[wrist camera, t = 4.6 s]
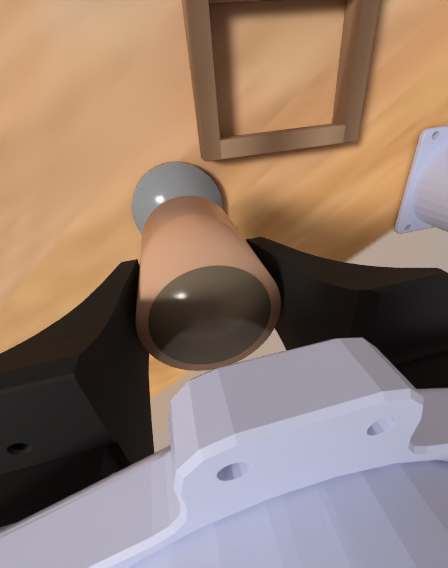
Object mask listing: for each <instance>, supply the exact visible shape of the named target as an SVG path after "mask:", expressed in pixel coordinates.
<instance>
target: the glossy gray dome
mask: <svg viewBox="0 0 448 568" xmlns="http://www.w3.org/2000/svg"><path fill="white" fill-rule="evenodd" d="M179 196H199V197H202V198H206V199H208V200H210V201H212V202H214V203H216V204H217V205H218V206H219V207H221V208H222V209H223V205H222V198H221V195H220V192H219V190H218V187H217V186H216V184H215V183H214V181H213V180H212V179H211V178H210V177H209V176H208V175H207V174H206V173H205V172H204V171H203V170H201V169H200V168H198V167H196V166H194V165H192V164H189V163H184V162H167V163H163V164H160V165H158V166H156V167H154V168H152V169H151V170H149V171H148V172H147V173H146V174H145V175H144V176H143V177H142V178H141V180H140V181H139V183H138V185H137V186H136V189H135V192H134V196H133V202H132V211H133V217H134V220H135V223H136V225H137V227H138V229H139V231H140V232H141V234H142V232H143V228H144V225H145V223H146V221H147V219H148V217H149V216H150V214H151V213H152V212H153V211H154V210H155V209H156V208H157V207H158V206H159V205H161V204H162V203H164V202H166V201H167V200H170V199H172V198H176V197H179Z"/></svg>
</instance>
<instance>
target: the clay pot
mask: <svg viewBox="0 0 448 568" xmlns="http://www.w3.org/2000/svg"><path fill="white" fill-rule="evenodd" d="M280 308H281V299H280V293H279V290H278V287H277V285H276V283H275V281H274V279H273V278H272V276H271V275H270V274H269V272H268V271H267V269H266V268H265V267H264V265H263V264H262V263H261V261H260V260H259V258H258V257H257V256H256V254H255V253H254V251H253V250H252V249H251V247H250V246H249V245H248V243H247V242H246V240H245V239H244V238H243V236H242V235H241V233H240V232H239V231H238V229H237V228H236V227H235V225H234V224H233V222H232V221H231V220H230V218H229V217H228V215H227V214H226V213H225V211H224V210H223V209H222V208H221V207H219V206H218V205H217V204H216V203H214V202H212V201H210V200H208V199H206V198H202V197H199V196H179V197H176V198H172V199H170V200H167V201H166V202H164V203H162V204H161V205H159V206H158V207H157V208H156V209H155V210H154V211H153V212H152V213H151V214H150V216H149V217H148V219H147V221H146V223H145V225H144V228H143V232H142V240H141V253H140V266H139V280H138V293H137V306H136V330H137V334H138V337H139V339H140V341H141V343H142V345H143V346H144V347H145V349H146V350H147V351H148V352H149V353H150V354H151V355H152V356H153V357H155V358H156V359H157V360H159V361H161V362H163V363H164V364H167V365H169V366H172V367H175V368H179V369H184V370H195V371H199V370H211V369H215V368H218V367H222V366H227V365H230V364H233V363H235V362H238V361H239V360H241V359H243V358H245V357H247V356H248V355H250V354H251V353H252V352H254V351H255V350H256V349H258V348H259V347H260V346H261V345H262V344H263V343H264V342H265V341H266V340H267V338H268V337H269V336H270V334H271V333H272V331H273V330H274V328H275V326H276V324H277V321H278V318H279V314H280Z"/></svg>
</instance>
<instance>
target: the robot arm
mask: <svg viewBox="0 0 448 568" xmlns="http://www.w3.org/2000/svg"><path fill="white" fill-rule="evenodd" d="M433 134H434V136H433ZM432 136H433V137H432ZM432 227H437V228H440V229H442V230H445V231H447V232H448V126H441V127H433V128H427V129H425V130H424V131H423V132H422V133H421V135H420V137H419V141H418V144H417V148H416V152H415V155H414V159H413V163H412V166H411V170H410V173H409V177H408V181H407V184H406V188H405V192H404V195H403V199H402V203H401V206H400V210H399V214H398V217H397V221H396V225H395V229H394V230H395V232H397V233H399V234H402V233H406V232H412V231H417V230H422V229H427V228H432ZM246 242H247V243H248V245H249V246H250V247H251V249H252V250H253V251H254V253H255V254H256V256H257V257H258V258H259V260H260V261H261V263H262V264H263V265H264V267H265V268H266V269H267V271H268V272H269V274H270V275H271V276H272V278H273V279H274V281H275V283H276V285H277V287H278V290H279V293H280V299H281V308H280V314H279V318H278V321H277V324H276V326H275V330H276V331H277V332H278V334H279V336H280V338H281V340H282V342H283V344H284V346H285V348H286V350H287V351H283V352H279V353H275V354H271V355H267V356H263V357H259V358H255V359H251V360H247V361H243V362H239V363H235V364H231V365H227V366H222V367H218V368H215V369H213V370H211V371H209V372H206V373H204V374H202V375H200V376H197V377H195V378H193V379H191V380H190V381H189V382H188V383H187V384H186V385H185V386H184V387H183V388H182V389H181V390H180V391H179V392H178V393H177V394H176V395H175V396H174V397H173V399H171V402H170V412H169V432H170V446H168V447H166V448H164V449H162V450H160V451H158V452H156V453H154V446H153V445H154V444H153V433H152V421H151V408H150V392H149V374H148V372H149V352H148V351H147V350H146V349H145V347H144V346H143V345H142V343H141V341H140V339H139V337H138V334H137V330H136V306H137V293H138V280H139V263H138V260H137V259H136V260H131V261H125V262H121V263H120V264H119V265H118V266H117V267H116V269H115V270H114V271H113V272H112V273H111V274H110V275H109V276H108V277H107V278H106V279H105V281H104V282H103V283H102V284H101V285H100V286H99V287H98V288H97V289H96V290H95V291H94V292H93V293H92V294H90V295H89V296H88V297H87V298H86V299H85V300H84V301H83V302H82V303H81V304H79V305H78V306H77V307H76V308H74V309H73V310H72V311H71V312H69V313H68V314H67V315H65V316H64V317H63V318H61V319H60V320H58V321H57V322H55V323H53V324H52V325H50V326H49V327H47V328H46V329H44V330H43V331H41V332H40V333H38V334H36V335H35V336H33V337H31V338H29V339H27V340H26V341H24V342H22V343H20V344H18V345H16V346H15V347H13V348H11V349H9V350H7V351H5V352H3V353H1V354H0V568H448V273H447V272H445V271H443V270H441V269H439V268H392V267H391V268H390V267H375V266H366V265H357V264H351V263H344V262H339V261H334V260H330V259H325V258H321V257H317V256H314V255H311V254H307V253H304V252H301V251H298V250H295V249H293V248H290V247H287V246H285V245H282V244H279V243H277V242H274V241H272V240H269V239H266V238H262V237H257V238H252V239H246Z"/></svg>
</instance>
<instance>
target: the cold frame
mask: <svg viewBox="0 0 448 568" xmlns="http://www.w3.org/2000/svg"><path fill="white" fill-rule="evenodd" d="M248 1H267V0H182V4H183V13H184V21H185V29H186V37H187V45H188V53H189V62H190V70H191V78H192V86H193V94H194V102H195V111H196V119H197V127H198V135H199V143H200V152H201V158H202V159H203V160H204V161H212V160H220V159H227V158H234V157H242V156H249V155H257V154H264V153H271V152H279V151H286V150H293V149H301V148H308V147H316V146H323V145H330V144H338V143H345V142H353V141H357V139H358V132H359V126H360V120H361V114H362V108H363V102H364V96H365V90H366V83H367V77H368V71H369V65H370V59H371V53H372V47H373V41H374V34H375V28H376V22H377V16H378V10H379V4H380V0H346V7H345V16H344V25H343V34H342V42H341V51H340V60H339V68H338V77H337V86H336V95H335V103H334V112H333V121H332V124H327V125H318V126H310V127H302V128H294V129H286V130H278V131H270V132H262V133H254V134H246V135H238V136H229V137H221V138H220V133H219V121H218V110H217V98H216V86H215V74H214V62H213V50H212V39H211V27H210V15H209V3H228V2H248Z"/></svg>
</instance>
